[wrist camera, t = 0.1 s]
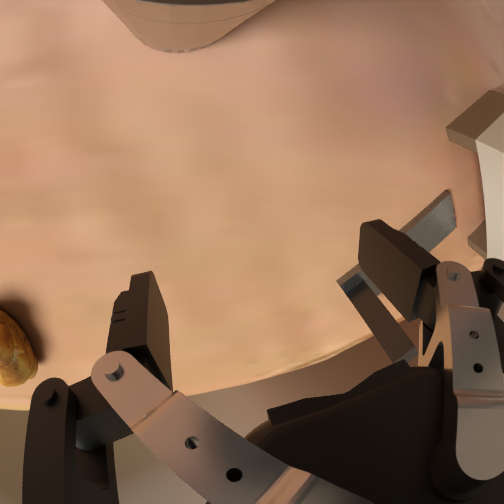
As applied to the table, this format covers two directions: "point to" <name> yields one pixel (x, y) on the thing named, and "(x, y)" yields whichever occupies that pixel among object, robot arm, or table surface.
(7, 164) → the table surface
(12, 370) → the bread roll
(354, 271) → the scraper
